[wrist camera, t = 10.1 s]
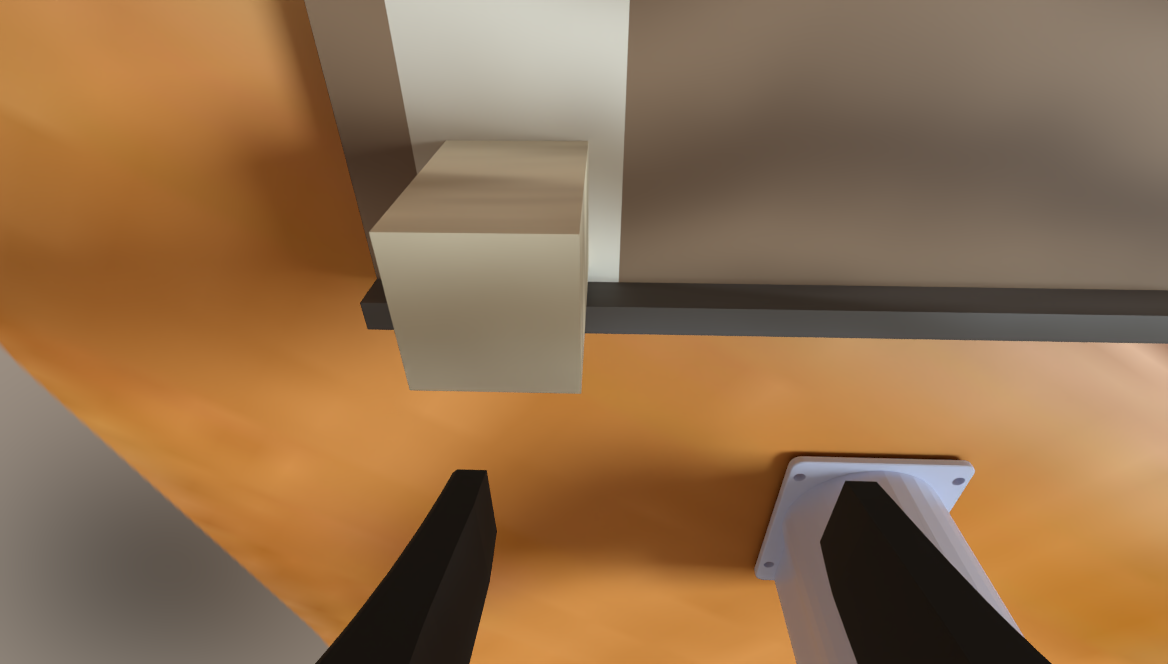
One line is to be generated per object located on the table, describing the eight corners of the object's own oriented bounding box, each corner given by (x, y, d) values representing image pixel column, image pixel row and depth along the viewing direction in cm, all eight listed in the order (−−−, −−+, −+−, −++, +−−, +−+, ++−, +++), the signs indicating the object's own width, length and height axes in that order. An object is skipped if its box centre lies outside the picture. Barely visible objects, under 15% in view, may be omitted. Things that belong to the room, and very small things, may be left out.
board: (1131, 292, 19) (1209, 344, 16) (397, 281, 20) (367, 329, 17) (1341, -12, 14) (1503, -4, 11) (328, -10, 14) (271, -2, 12)
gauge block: (588, 267, 17) (580, 393, 12) (465, 266, 17) (409, 390, 12) (588, 141, 15) (579, 234, 10) (445, 140, 15) (369, 232, 10)
